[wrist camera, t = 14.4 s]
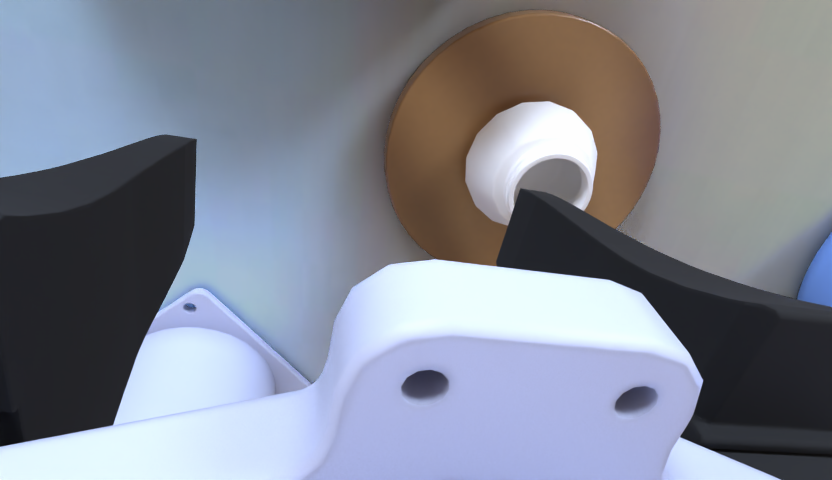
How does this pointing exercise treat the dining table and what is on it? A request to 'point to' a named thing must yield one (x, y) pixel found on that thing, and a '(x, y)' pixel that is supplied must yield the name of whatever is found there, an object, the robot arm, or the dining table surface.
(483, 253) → the trivet
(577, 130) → the lidless jar
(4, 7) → the dining table surface
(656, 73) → the dining table surface
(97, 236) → the robot arm
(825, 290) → the water jug
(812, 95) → the dining table surface
